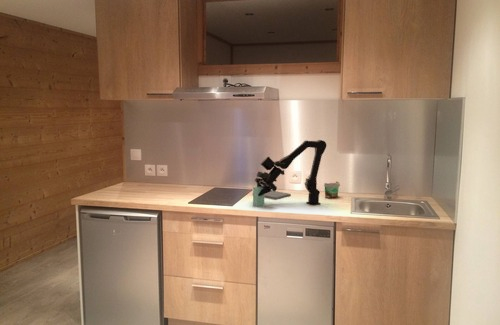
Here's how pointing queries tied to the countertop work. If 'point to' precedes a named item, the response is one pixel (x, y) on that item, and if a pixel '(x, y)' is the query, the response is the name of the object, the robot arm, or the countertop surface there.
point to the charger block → (258, 197)
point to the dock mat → (276, 195)
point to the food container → (331, 190)
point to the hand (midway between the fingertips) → (256, 194)
